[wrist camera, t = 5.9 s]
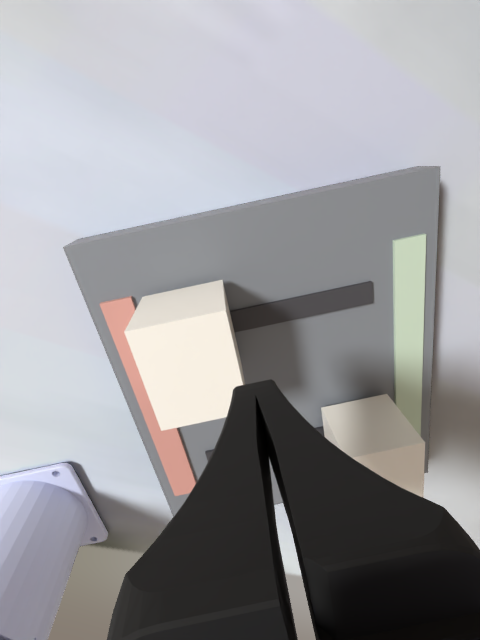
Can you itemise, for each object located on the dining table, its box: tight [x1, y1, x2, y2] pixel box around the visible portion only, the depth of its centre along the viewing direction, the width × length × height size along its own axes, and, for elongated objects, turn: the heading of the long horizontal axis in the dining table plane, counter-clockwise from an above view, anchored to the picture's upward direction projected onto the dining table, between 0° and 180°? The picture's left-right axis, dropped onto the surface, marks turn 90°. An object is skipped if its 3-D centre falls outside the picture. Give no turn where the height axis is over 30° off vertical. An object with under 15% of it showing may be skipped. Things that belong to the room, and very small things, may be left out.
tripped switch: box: [124, 280, 245, 431], centre depth 16 cm, size 4×5×4 cm
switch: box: [321, 394, 425, 498], centre depth 20 cm, size 4×5×4 cm
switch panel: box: [63, 166, 440, 517], centre depth 21 cm, size 18×20×2 cm
